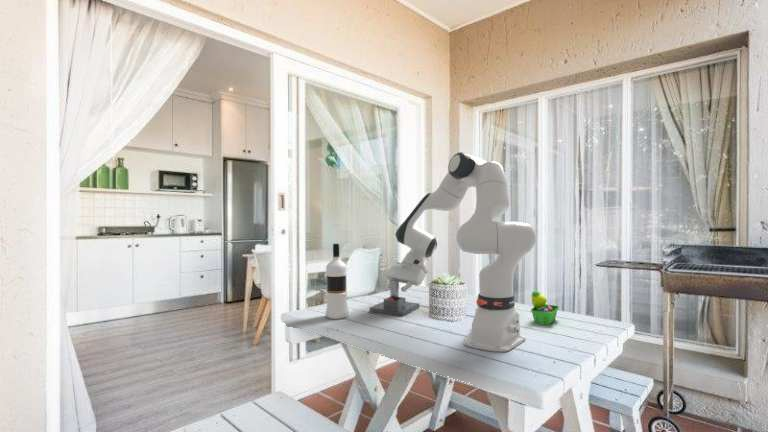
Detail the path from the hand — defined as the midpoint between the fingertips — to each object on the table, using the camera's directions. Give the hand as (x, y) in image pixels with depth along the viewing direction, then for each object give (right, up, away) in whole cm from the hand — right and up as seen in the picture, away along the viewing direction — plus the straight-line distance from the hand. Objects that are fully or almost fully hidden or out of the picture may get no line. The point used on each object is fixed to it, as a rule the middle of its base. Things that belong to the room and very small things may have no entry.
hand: (395, 289), depth 176 cm
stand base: (0, -9, 0) cm, 9 cm away
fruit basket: (+56, -9, -20) cm, 60 cm away
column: (0, -7, 0) cm, 7 cm away
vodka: (-24, -10, -10) cm, 28 cm away
